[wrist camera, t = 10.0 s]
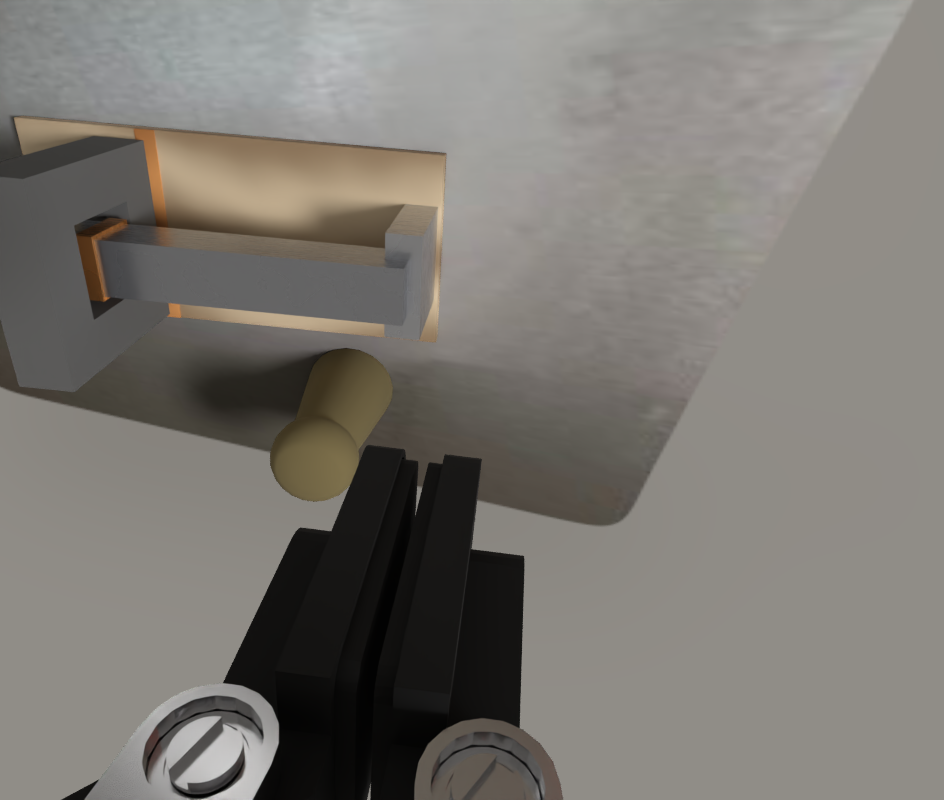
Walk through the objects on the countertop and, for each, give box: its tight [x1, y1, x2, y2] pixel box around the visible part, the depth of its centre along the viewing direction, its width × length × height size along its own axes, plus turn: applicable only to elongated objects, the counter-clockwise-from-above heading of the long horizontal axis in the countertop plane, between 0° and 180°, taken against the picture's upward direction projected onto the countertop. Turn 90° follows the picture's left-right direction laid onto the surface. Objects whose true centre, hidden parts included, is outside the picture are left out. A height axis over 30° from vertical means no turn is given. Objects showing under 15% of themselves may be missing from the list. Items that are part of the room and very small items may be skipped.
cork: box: [270, 348, 393, 502], centre depth 45 cm, size 6×6×11 cm
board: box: [14, 116, 446, 342], centre depth 45 cm, size 12×26×1 cm, turn 86°
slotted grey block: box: [0, 136, 170, 392], centre depth 39 cm, size 11×3×11 cm, turn 176°
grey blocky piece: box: [74, 204, 438, 340], centre depth 41 cm, size 6×26×8 cm, turn 86°
